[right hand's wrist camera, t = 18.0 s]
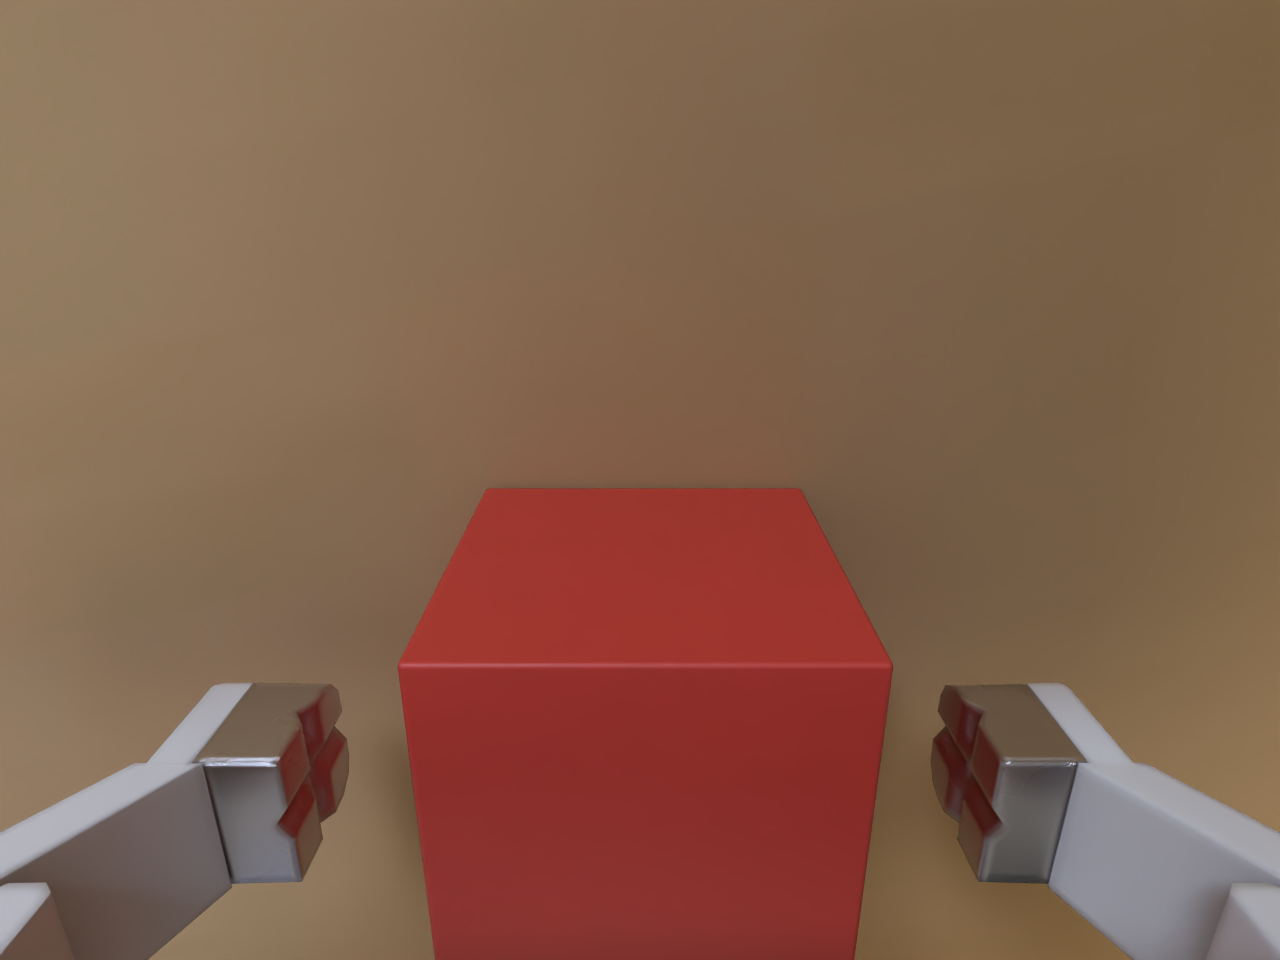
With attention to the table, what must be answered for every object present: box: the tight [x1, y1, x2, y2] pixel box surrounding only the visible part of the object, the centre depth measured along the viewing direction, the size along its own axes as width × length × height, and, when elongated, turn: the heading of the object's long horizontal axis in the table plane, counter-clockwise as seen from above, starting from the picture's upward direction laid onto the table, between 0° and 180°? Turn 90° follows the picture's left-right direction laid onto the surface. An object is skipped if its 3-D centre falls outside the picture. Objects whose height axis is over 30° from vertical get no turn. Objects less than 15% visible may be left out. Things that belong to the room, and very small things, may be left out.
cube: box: [398, 489, 893, 960], centre depth 11 cm, size 5×5×5 cm
